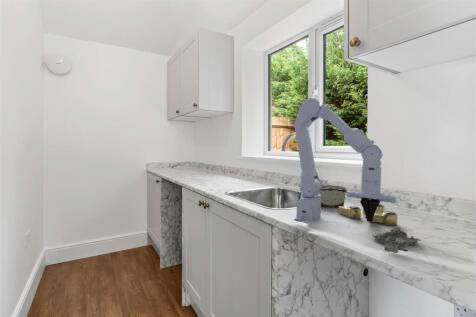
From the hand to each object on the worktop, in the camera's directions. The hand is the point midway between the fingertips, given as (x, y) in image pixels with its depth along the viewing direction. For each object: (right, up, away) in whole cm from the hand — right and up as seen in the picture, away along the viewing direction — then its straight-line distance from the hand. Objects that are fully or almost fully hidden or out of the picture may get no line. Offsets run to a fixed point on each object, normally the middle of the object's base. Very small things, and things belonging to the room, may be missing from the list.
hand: (369, 221), depth 85 cm
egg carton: (-1, -4, -16) cm, 16 cm away
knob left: (-3, -1, +9) cm, 10 cm away
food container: (-4, -1, +25) cm, 25 cm away
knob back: (+7, 0, +11) cm, 13 cm away
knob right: (+5, -1, +1) cm, 5 cm away
